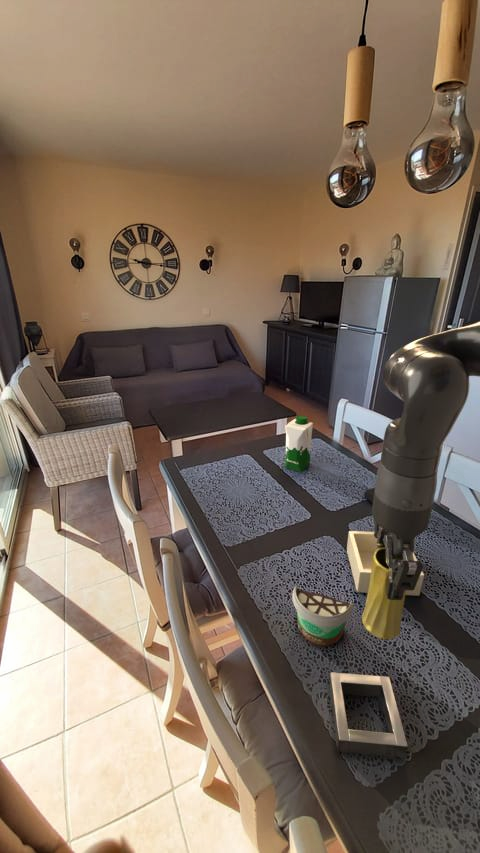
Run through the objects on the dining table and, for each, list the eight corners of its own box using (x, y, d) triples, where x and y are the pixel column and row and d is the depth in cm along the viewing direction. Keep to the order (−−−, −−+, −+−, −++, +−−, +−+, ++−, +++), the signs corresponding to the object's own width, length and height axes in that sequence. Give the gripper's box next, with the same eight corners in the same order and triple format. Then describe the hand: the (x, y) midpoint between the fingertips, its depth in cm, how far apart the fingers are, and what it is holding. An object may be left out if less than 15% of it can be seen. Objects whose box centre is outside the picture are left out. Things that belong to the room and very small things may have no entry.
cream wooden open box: (400, 553, 96) (404, 532, 93) (419, 598, 83) (424, 575, 80) (346, 551, 97) (348, 530, 94) (356, 594, 85) (360, 572, 82)
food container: (284, 641, 74) (285, 607, 70) (292, 617, 80) (293, 583, 76) (346, 662, 70) (351, 627, 66) (349, 635, 75) (354, 601, 71)
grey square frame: (386, 690, 65) (389, 676, 64) (403, 760, 56) (408, 746, 55) (328, 685, 66) (330, 672, 65) (337, 754, 57) (339, 740, 56)
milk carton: (312, 465, 139) (315, 417, 131) (302, 475, 133) (304, 426, 124) (292, 459, 144) (293, 412, 136) (281, 469, 137) (282, 421, 129)
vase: (368, 601, 65) (377, 539, 59) (404, 618, 61) (418, 554, 55) (356, 628, 60) (365, 563, 54) (395, 647, 57) (409, 581, 51)
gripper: (456, 527, 43) (431, 624, 50) (413, 466, 56) (398, 550, 63) (391, 526, 44) (375, 622, 51) (363, 465, 57) (354, 548, 64)
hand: (388, 581), depth 57 cm, fingers closed on vase, 5 cm apart
